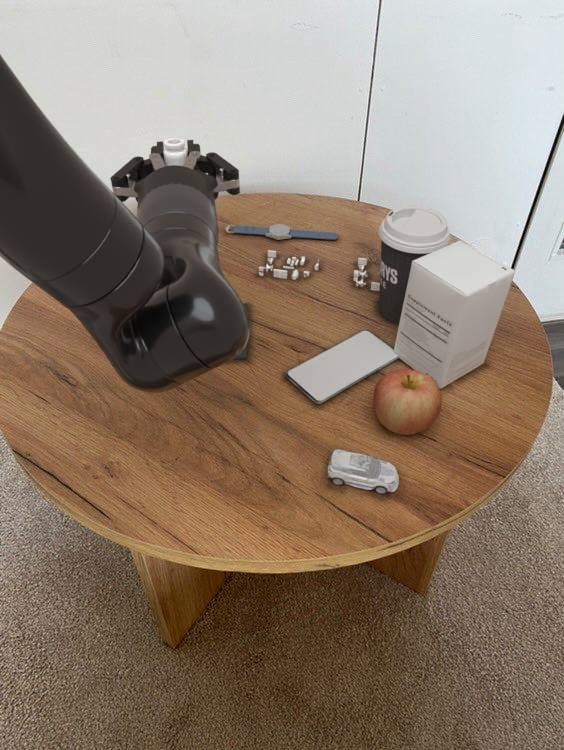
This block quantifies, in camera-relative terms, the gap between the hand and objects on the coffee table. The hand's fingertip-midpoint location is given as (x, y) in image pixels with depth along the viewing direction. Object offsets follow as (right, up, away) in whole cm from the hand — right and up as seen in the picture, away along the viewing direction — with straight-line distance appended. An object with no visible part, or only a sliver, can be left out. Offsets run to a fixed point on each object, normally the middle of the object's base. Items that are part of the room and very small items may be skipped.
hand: (175, 149), depth 67 cm
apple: (+27, -32, +4) cm, 42 cm away
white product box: (+33, -24, +12) cm, 43 cm away
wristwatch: (+12, -2, +35) cm, 37 cm away
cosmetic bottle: (0, -17, +12) cm, 20 cm away
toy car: (+21, -38, -2) cm, 43 cm away
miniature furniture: (+22, -10, +27) cm, 36 cm away
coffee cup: (+30, -17, +20) cm, 40 cm away
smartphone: (+21, -25, +11) cm, 34 cm away
